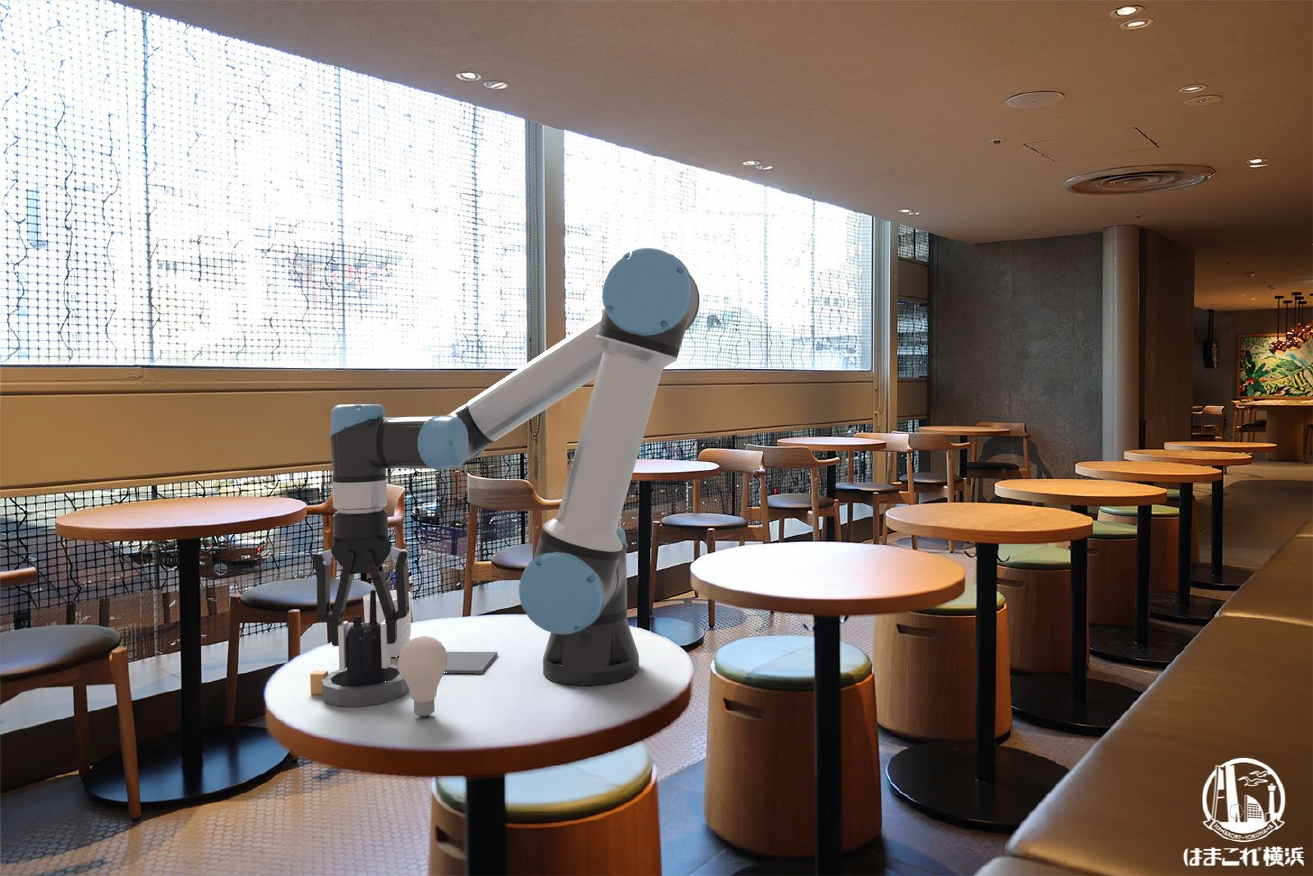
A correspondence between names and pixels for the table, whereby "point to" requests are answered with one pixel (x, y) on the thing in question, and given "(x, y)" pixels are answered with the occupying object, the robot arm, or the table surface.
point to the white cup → (402, 623)
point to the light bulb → (423, 671)
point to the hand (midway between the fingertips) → (365, 666)
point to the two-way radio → (365, 650)
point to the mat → (469, 662)
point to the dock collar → (357, 688)
